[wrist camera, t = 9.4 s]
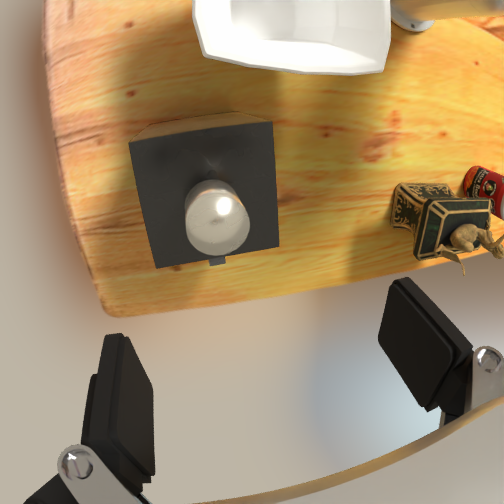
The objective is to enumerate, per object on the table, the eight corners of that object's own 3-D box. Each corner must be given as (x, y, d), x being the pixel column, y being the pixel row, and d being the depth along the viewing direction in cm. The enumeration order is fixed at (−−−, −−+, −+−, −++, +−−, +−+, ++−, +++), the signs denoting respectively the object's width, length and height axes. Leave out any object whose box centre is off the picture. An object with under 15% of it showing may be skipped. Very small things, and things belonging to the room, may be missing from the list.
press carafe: (148, 124, 35) (128, 142, 21) (236, 111, 36) (272, 121, 23) (166, 223, 41) (162, 291, 28) (246, 209, 43) (280, 270, 29)
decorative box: (454, 179, 49) (534, 222, 32) (445, 225, 53) (516, 277, 36) (372, 177, 45) (463, 230, 28) (364, 233, 49) (440, 303, 33)
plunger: (157, 132, 34) (132, 170, 17) (231, 120, 36) (284, 147, 18) (168, 201, 39) (163, 297, 21) (238, 189, 40) (289, 274, 22)
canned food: (471, 158, 47) (513, 176, 38) (488, 174, 50) (526, 192, 41) (457, 192, 50) (498, 215, 41) (475, 205, 53) (512, 227, 43)
